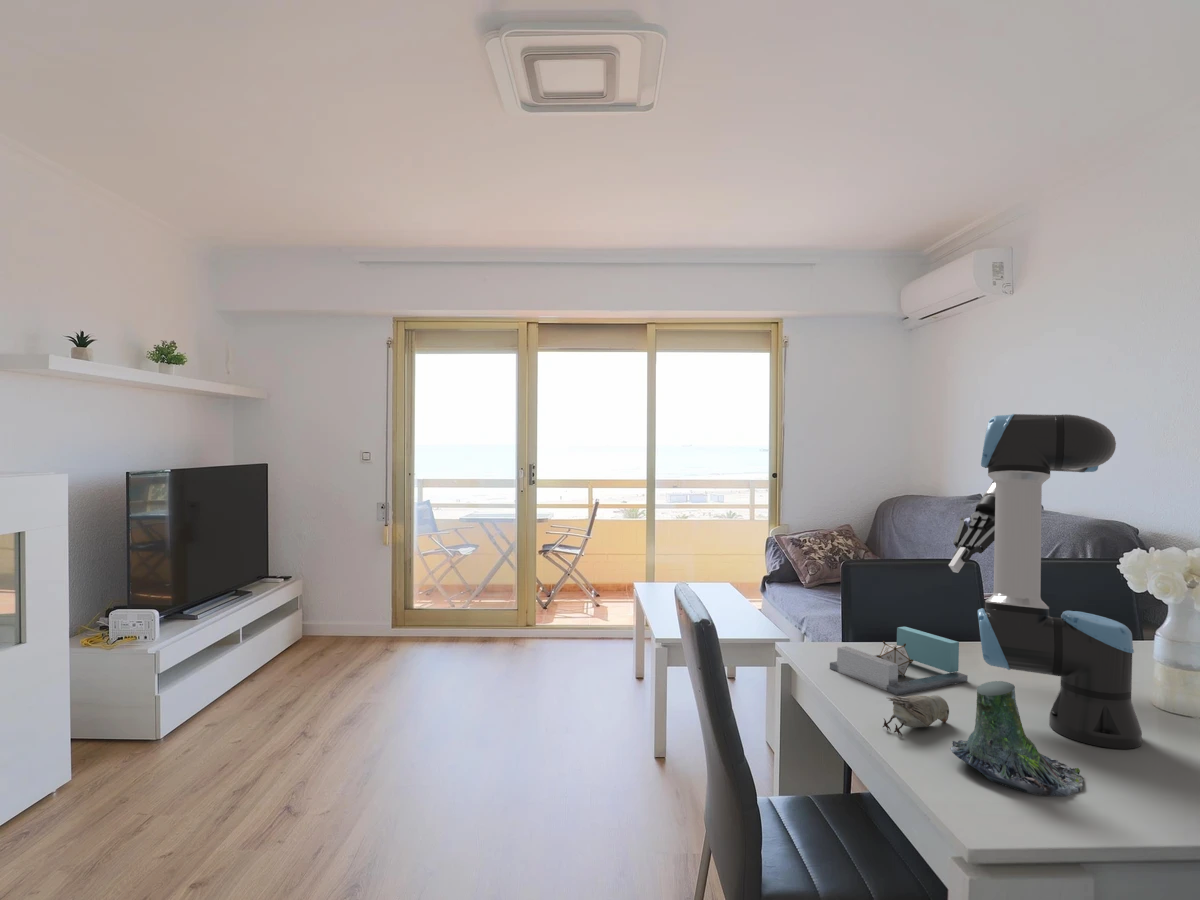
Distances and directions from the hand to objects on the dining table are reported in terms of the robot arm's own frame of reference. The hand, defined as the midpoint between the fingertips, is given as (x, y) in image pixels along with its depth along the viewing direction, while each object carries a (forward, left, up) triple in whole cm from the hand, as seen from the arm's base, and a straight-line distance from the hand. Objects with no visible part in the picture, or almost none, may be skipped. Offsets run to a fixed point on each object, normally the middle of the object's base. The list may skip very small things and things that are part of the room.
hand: (953, 569), depth 185 cm
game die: (0, +21, -25) cm, 33 cm away
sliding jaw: (0, +10, -23) cm, 25 cm away
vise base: (0, +21, -25) cm, 33 cm away
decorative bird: (-26, +44, -26) cm, 57 cm away
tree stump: (-47, +45, -25) cm, 69 cm away
